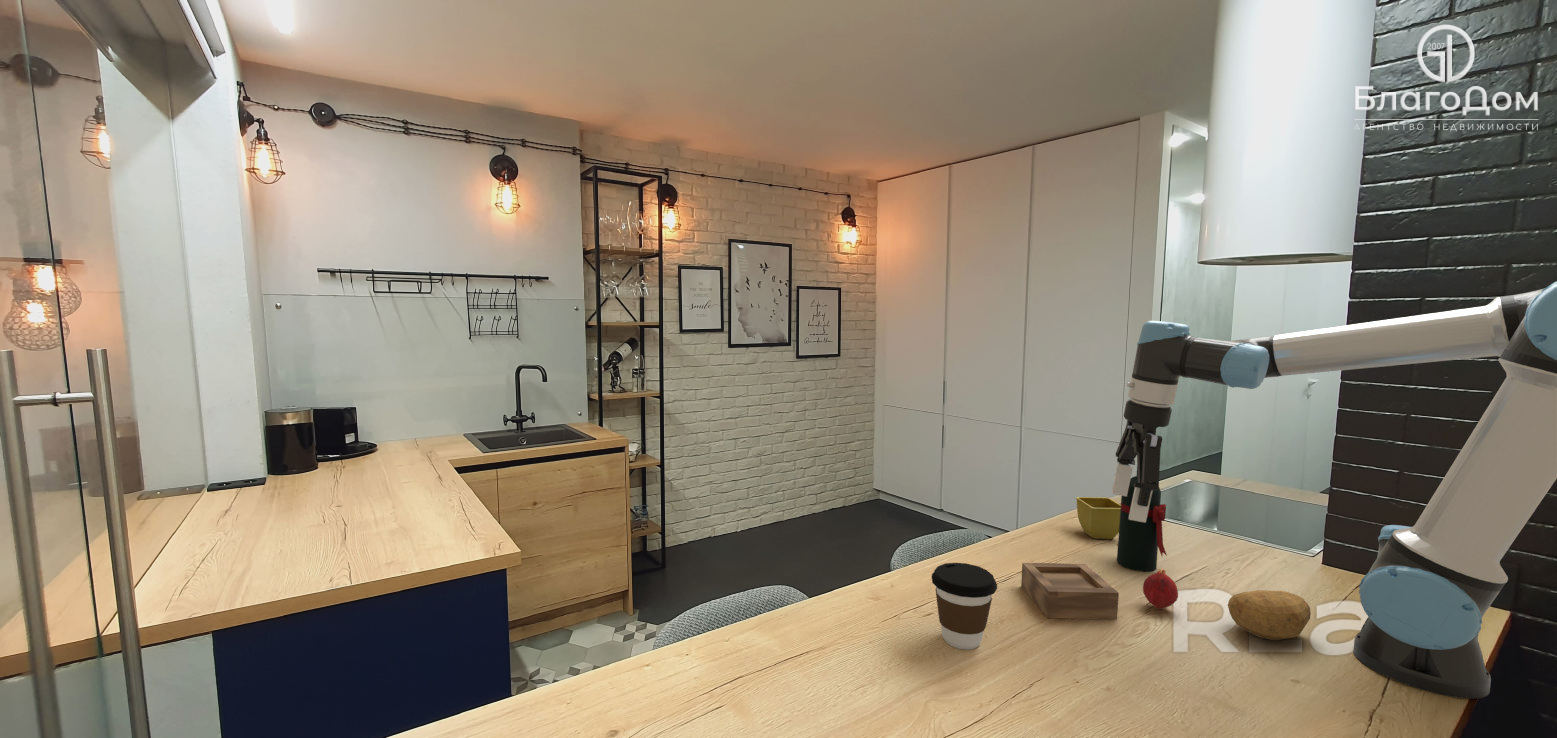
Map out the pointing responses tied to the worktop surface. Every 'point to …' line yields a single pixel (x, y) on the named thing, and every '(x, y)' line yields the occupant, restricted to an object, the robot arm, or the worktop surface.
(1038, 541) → the worktop surface
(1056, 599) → the walnut tray
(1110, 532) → the flower pot
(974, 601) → the coffee cup
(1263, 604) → the potato
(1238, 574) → the worktop surface
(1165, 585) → the pomegranate
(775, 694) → the worktop surface
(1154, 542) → the wine bottle
